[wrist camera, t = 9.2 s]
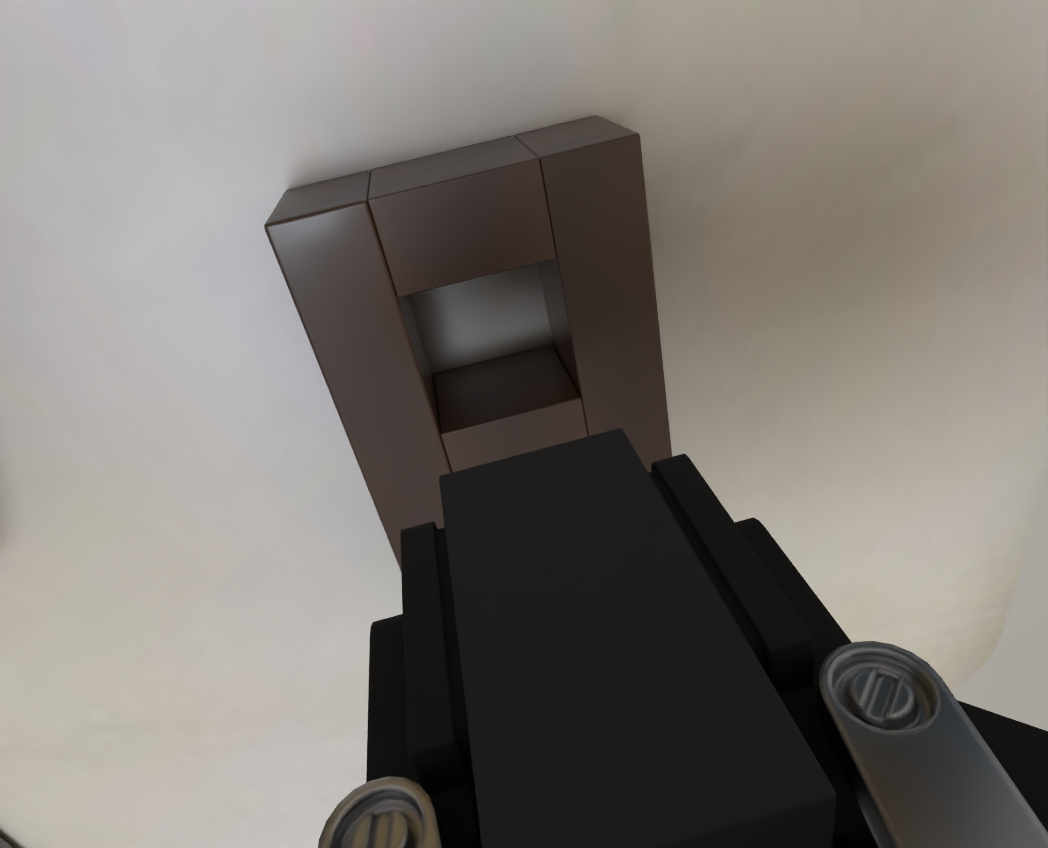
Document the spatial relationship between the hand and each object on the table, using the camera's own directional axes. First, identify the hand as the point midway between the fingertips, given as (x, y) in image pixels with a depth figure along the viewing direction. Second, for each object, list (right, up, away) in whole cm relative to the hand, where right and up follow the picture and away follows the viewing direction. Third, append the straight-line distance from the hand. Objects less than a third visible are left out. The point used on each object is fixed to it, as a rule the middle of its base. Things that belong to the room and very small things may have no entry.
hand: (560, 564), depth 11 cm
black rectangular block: (0, +1, +1) cm, 1 cm away
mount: (-1, +4, +12) cm, 13 cm away
